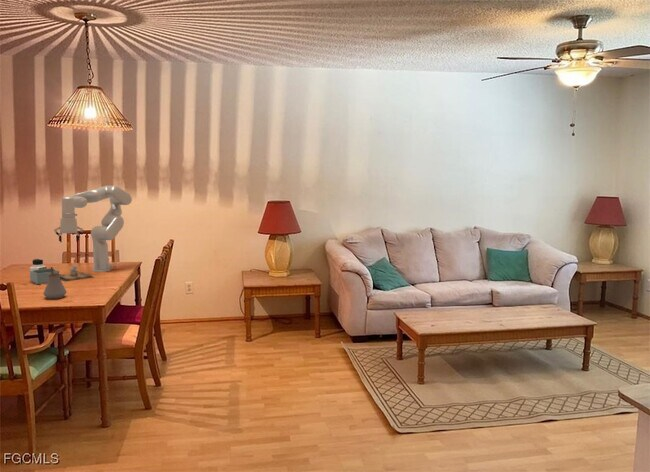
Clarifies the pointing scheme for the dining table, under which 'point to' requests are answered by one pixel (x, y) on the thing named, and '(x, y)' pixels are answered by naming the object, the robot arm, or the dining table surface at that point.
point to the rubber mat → (76, 279)
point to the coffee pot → (54, 286)
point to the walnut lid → (74, 275)
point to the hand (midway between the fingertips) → (69, 241)
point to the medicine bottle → (37, 265)
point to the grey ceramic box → (41, 276)
